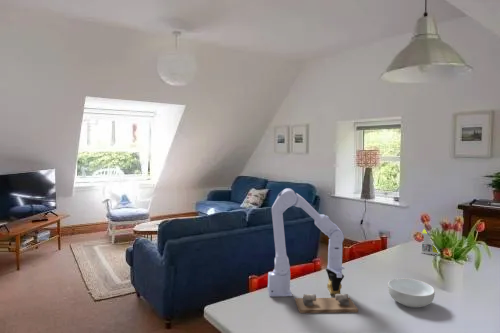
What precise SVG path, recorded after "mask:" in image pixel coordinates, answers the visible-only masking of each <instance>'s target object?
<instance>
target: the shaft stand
mask: <svg viewBox="0 0 500 333" xmlns="http://www.w3.org/2000/svg"><path fill="white" fill-rule="evenodd" d="M294 300H295V305H296V307H297V309H298V313H299V314H314V313H315V314H317V313H318V314H319V313H320V314H323V313H325V314H327V313H328V314H329V313H331V314H332V313H334V314H335V313H358V312H359V308H358V307H357V305H356V304H355V303H354V302H353V300H352V299H351V298H350V297H349V294H348V293H340V294H334V297H317V295H316V294H315V293H314V294H312V293H310V294H308V293H306V294H305V293H304V294H303V296H302V297H295V299H294Z"/></svg>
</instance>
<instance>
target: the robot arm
mask: <svg viewBox="0 0 500 333" xmlns="http://www.w3.org/2000/svg"><path fill="white" fill-rule="evenodd" d="M292 206H294V207H296V208H301V209H302V210H303V211H304V212H305V213H306V214H308V215H309V217H311V218H312V220H314V225H315V227H317V228H318V229H319V230H320V231H321V232H322V233H323V234H324V235H325V236H327V237H328V238H329V239H328V247H327V248H328V250H327V268H325V271H326V273H327V276H328V277H327V278H328V279H329V278H331V280H332V287H333V291H338V290H339V287H340V284H341V285H342V281H343V280H344V277H345V275H344V274H343V270H345V268H346V267H345V266H344V265H343V242H344V241H345V236H344V233H343V231H342V230H341V229H340V227H339V226H338V225H337V224H336V223H334V222H333V221H332V220H331V219H330V216H328V215H325V214H324V213H323V214H320V213H319V211H317V210H316V209H315V208H314V207H313V206H312V205H311V204H310V203H309V202H308V201H307V200H306V199H305V198H304V197H303V196H301V195H300V194H299V193H297V192H295V190H293V189H292V188H289V187H288V188H287V187H286V188H284V189H283V190H281V191H280V192H279V193H278V194H277V196H276V199H275V200H274V202H273V204H272V206H271V217H272V228H273V230H272V231H273V240H274V250H275V257H274V259H273V260H274V268H273V270H272V271H268V273H267V292H268V295H269V297H293V294H292V291H291V270H290V269H291V265H290V259H289V257H288V255H287V247H286V246H287V245H286V237H285V236H286V235H285V227H284V226H285V224H284V216H283V213H285V212H286V210H288V208H291V207H292Z"/></svg>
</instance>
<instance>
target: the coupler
mask: <svg viewBox="0 0 500 333" xmlns="http://www.w3.org/2000/svg"><path fill="white" fill-rule="evenodd" d="M327 281H328V283H327V284H326V288H327V290H328V292H329V294H330V295H333V294H334V295H335V294H341V289H342V283H341V284H340V287H339V290H338V291H333V287H332V280H331V278H329V277H328V280H327Z"/></svg>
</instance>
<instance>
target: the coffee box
mask: <svg viewBox="0 0 500 333" xmlns="http://www.w3.org/2000/svg"><path fill="white" fill-rule="evenodd" d="M425 229H426V228H423V229H422V231H421V235H422V234H423V235H424V242H420V244H421V245H420V254H424V253H425V254H424V255H431V254H432V256H436V255H435V254H438V252H437V250H436V248H435V247H434V246H433V245H431V244H429V243H432V241H431V240H430V238H429V236H428V235H427V232H426V230H425Z"/></svg>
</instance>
